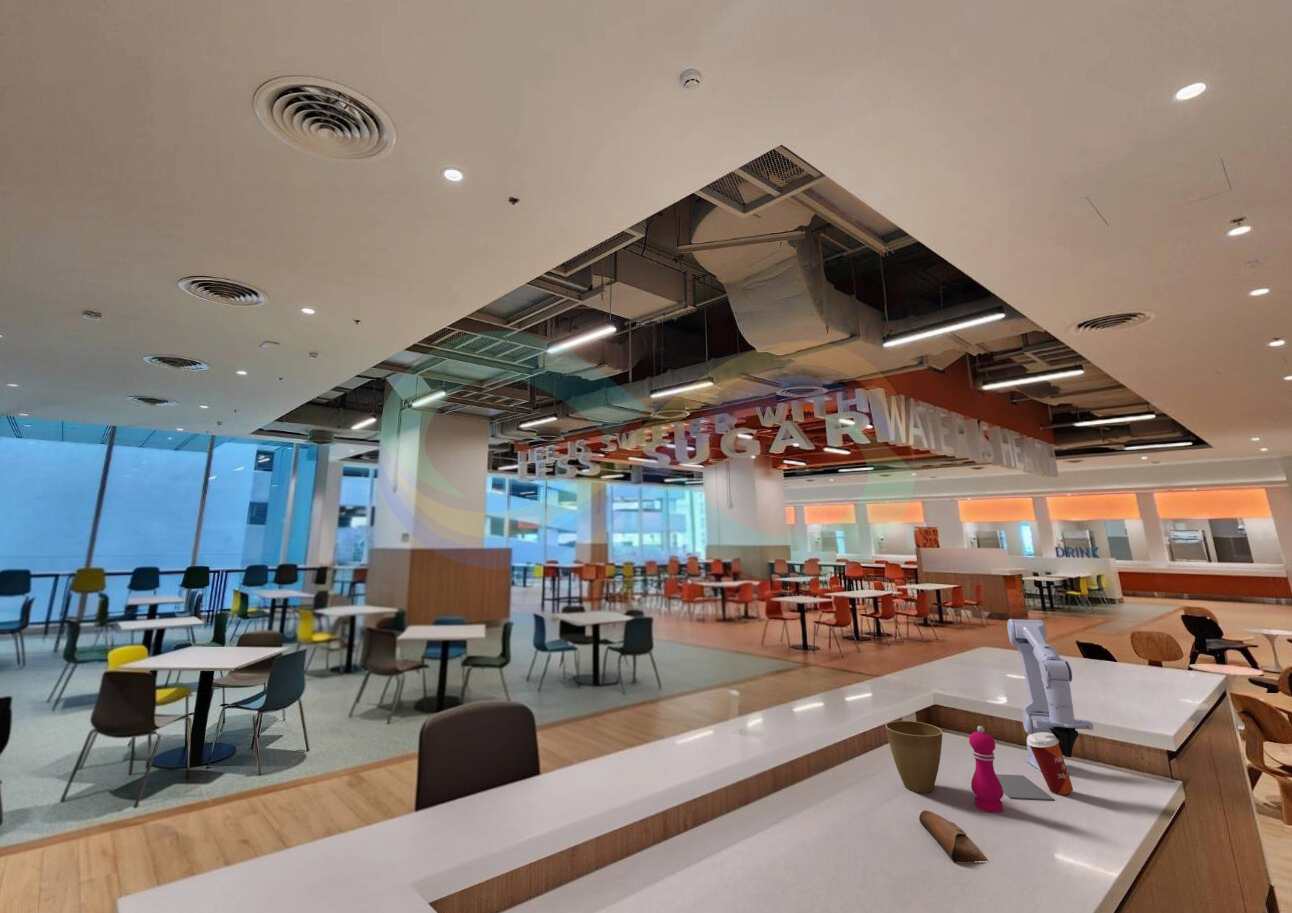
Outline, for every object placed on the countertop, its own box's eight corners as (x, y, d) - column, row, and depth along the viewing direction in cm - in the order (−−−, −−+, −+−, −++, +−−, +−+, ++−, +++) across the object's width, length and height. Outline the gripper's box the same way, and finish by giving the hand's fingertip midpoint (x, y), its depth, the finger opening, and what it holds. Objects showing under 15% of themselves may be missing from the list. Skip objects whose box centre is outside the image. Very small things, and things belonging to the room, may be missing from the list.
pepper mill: (1010, 814, 141) (1000, 731, 145) (979, 812, 143) (970, 729, 146) (998, 802, 148) (989, 722, 152) (969, 800, 150) (961, 721, 153)
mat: (983, 775, 166) (983, 773, 166) (1023, 776, 164) (1023, 775, 164) (1010, 798, 150) (1010, 797, 150) (1054, 800, 149) (1054, 799, 149)
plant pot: (958, 798, 151) (952, 735, 153) (903, 798, 151) (898, 736, 154) (932, 776, 165) (926, 719, 168) (881, 776, 166) (877, 719, 168)
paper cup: (1078, 796, 149) (1057, 741, 152) (1044, 795, 153) (1025, 742, 156) (1077, 782, 155) (1056, 730, 158) (1045, 782, 159) (1026, 731, 162)
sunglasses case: (993, 863, 120) (974, 834, 121) (966, 881, 119) (947, 851, 121) (953, 823, 137) (937, 798, 138) (930, 838, 137) (913, 813, 138)
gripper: (1040, 707, 155) (1046, 760, 152) (1097, 709, 153) (1104, 762, 150) (1026, 700, 161) (1032, 751, 159) (1081, 702, 159) (1088, 752, 157)
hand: (1066, 755), depth 155 cm, fingers closed
